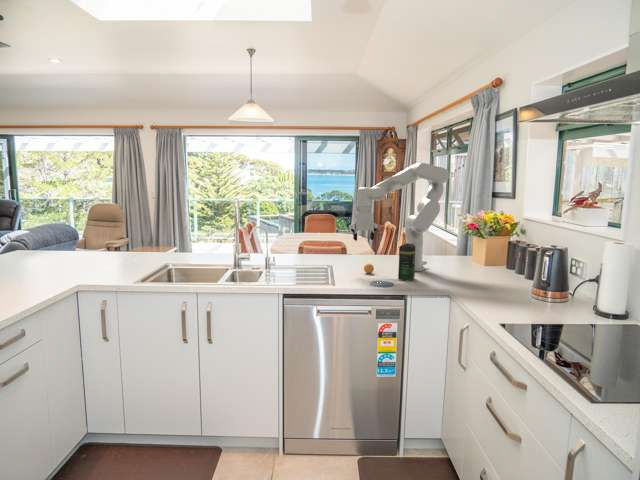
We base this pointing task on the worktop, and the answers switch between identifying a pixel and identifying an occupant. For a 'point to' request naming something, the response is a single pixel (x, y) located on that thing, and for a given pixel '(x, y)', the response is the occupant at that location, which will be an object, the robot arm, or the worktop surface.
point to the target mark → (382, 284)
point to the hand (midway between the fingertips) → (363, 240)
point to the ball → (368, 268)
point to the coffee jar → (406, 262)
